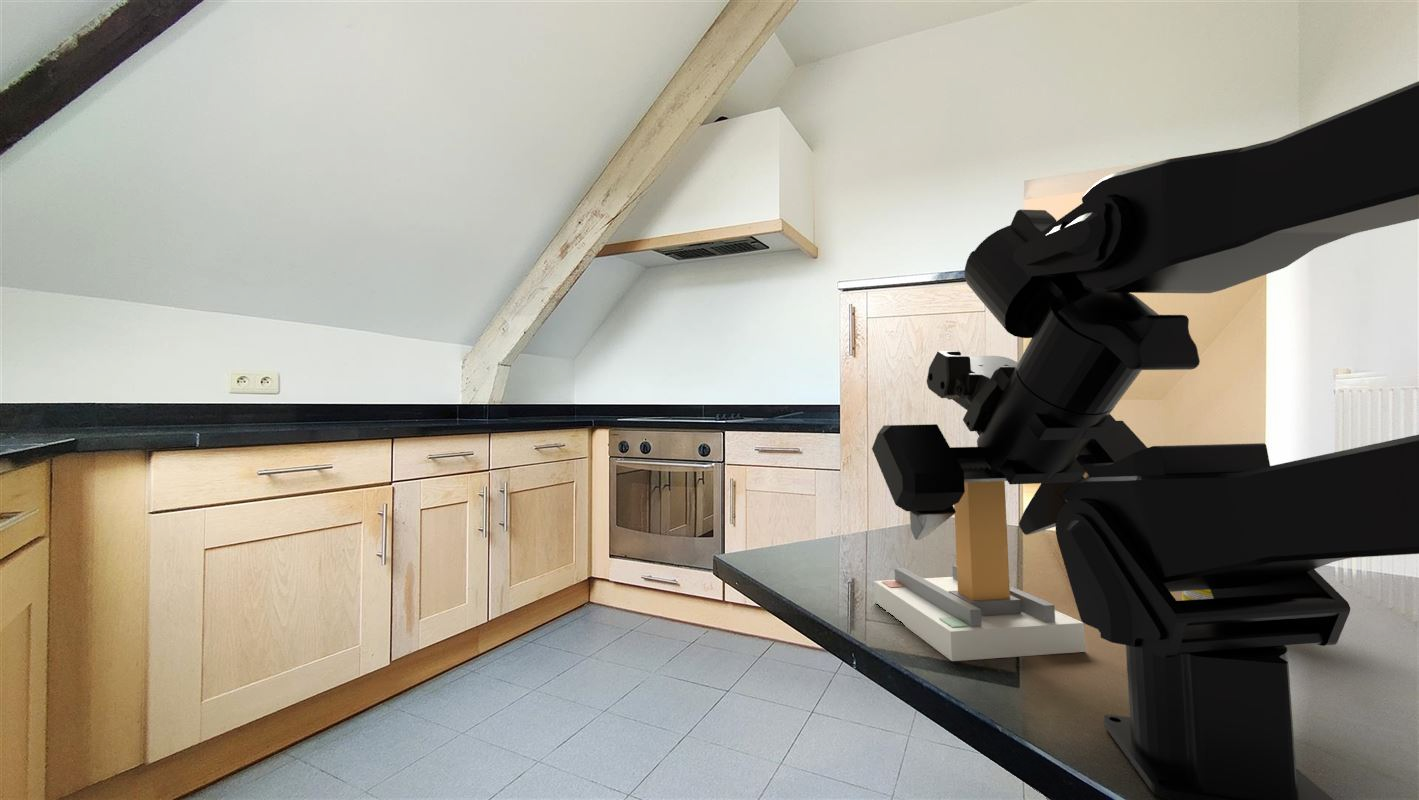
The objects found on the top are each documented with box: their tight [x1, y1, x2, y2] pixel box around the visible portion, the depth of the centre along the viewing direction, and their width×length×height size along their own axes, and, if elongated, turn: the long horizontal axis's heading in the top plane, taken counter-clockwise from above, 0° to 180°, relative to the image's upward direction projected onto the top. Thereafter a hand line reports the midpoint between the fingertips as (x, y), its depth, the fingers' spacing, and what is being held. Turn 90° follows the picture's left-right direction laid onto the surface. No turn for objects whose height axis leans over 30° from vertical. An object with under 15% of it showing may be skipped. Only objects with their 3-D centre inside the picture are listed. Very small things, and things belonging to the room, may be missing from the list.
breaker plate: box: [873, 564, 1086, 662], centre depth 45 cm, size 13×10×3 cm
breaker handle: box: [948, 481, 1021, 616], centre depth 43 cm, size 3×4×12 cm
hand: (969, 532), depth 45 cm, fingers open, 9 cm apart
